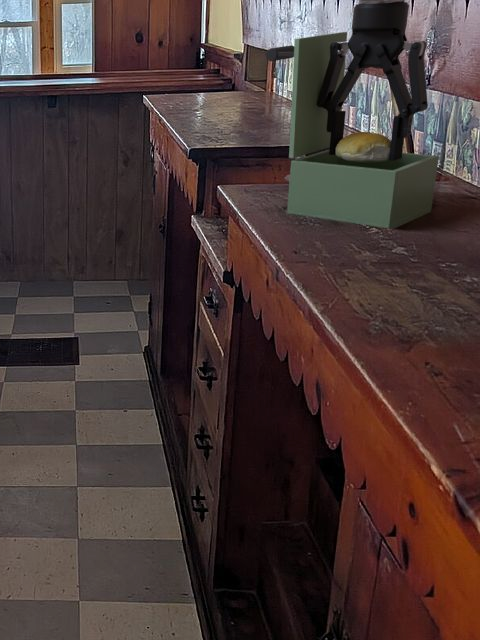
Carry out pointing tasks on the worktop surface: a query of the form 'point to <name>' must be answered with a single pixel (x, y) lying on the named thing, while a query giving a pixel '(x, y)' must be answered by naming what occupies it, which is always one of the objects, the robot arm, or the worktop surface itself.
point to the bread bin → (363, 189)
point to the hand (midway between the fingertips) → (364, 156)
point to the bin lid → (308, 90)
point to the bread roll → (364, 147)
